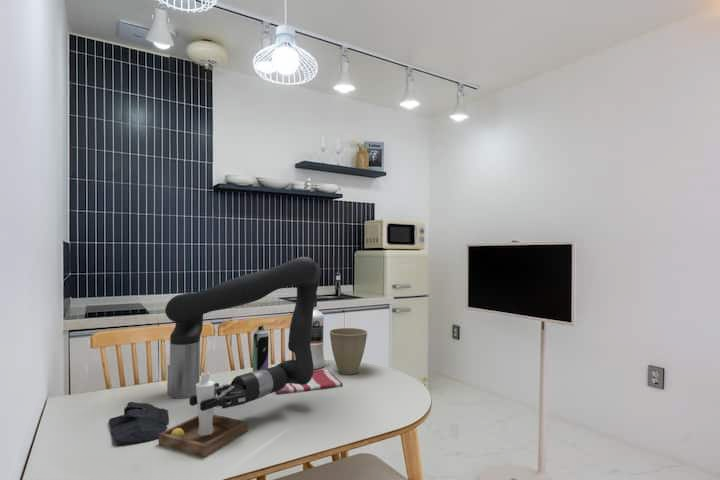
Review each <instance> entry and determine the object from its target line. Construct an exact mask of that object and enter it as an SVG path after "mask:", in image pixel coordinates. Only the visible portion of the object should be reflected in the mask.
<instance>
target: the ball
mask: <svg viewBox="0 0 720 480" xmlns="http://www.w3.org/2000/svg"><path fill="white" fill-rule="evenodd" d="M171 435H174V436H177V437H181V438H184V431H183V429H181V428H176V429H174V430H173V431H172V432H171Z"/></svg>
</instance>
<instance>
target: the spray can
mask: <svg viewBox="0 0 720 480" xmlns="http://www.w3.org/2000/svg"><path fill="white" fill-rule="evenodd" d="M269 335H270V334H269V331H267V330H266V329H265V328H264V325H260V326H258V328H257V329H256V330H255V331H254V332H253V336H252V337H253V338H252V342H253V343H252V372H254V371H258V370H264V369H267V368H269V343H270V342H269Z"/></svg>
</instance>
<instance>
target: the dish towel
mask: <svg viewBox="0 0 720 480" xmlns="http://www.w3.org/2000/svg"><path fill="white" fill-rule="evenodd" d="M340 387H343V382H342V381H341V380H339V379H338V378H337V377H336V376H335V375H334V374H333V373H332V372H331V371H330V370H329V369H314V371H313V376H312V378H311V380H310V381H309V382H308V383H307V384H305V385H300V384H293V383H288V384H286V385H285V387H284V388H283V389H281V390H279V391H276V392H274V393H275V394H276V395H283V394H293V393H295V394H296V393H302V392H309V391H315V390H326V389H334V388H340Z"/></svg>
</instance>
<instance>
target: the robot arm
mask: <svg viewBox="0 0 720 480" xmlns="http://www.w3.org/2000/svg"><path fill="white" fill-rule="evenodd" d="M320 267H321V266H320V265H319V264H318V263H317V262H316V261H315V260H314V259H313V258H311V257H307V256H299V257H297V258H296V257H295V258H294V259H291V260H289V261H286V262H284V263H282V264H280V265H277V266H274V267H271V268H268V269H262V270H258V271H256V272H252V273H247V274H244V275H240V276H238V277H234V278H231V279H227V280H226V281H223V282H221V283H218V284H216V285H214V286H212V287H209V288H207V289H204V290H201V291H195V292H186V293H185V292H184V293H181V294H177V295H175V296H173V297H172V298H171V299H169V301H168V302H167V304H165V305H166V306H165V309H164V310H165V316H166V317H167V318H168V319H169V320H170V321H171V322H174V323H175V326H174V329H173V330H172V332H171V333H170V337H169V364H167V384H166V385H167V386H166V389H167V392H166V394H167V395H169V397H171V398H173V399H183V398H189V405H190V406H192V407H193V406H196V405H197V394H196V384H197V383H199V382H200V378H201V376H200V375H201V372H200V371H201V370H200V367H201V366H200V364H201V361H200V359H201V334H202V332H203V326H204V325H203V323H204V322H203V321H204V315H205V314H209V313H212V312H216V311H221V310H225V309H227V310H228V309H230V308H231V309H232V308H235V307H239V306H244V305H247V304H250V303H251V304H252V303H253V302H257V301H259V300H261V299H263V298H265V297H267V296H268V295H270V294H272V293H273V292H275V291H277V290H280V289H284V288H287V287H292V286H296V301H295V306H294V310H293V313H292V316H291V320H290V325H289V332H288V333H289V334H288V341H287V342H288V343H287V346H288V347H287V348H288V350H289V351H290V352H292V353H294V356H295V359H288V360H285V361H282V362H280V363H278V364H277V365H275V366H272V367H268V368H267V369H264V370H258V371H254V372H253V371H251V372H248V373H243V374H240V375H236V376H235V377H234V378H233V379H232V381H231V382H230V383H226V384H223V385H220V383H218V382H215V386H214V398H211V399H208V400H204V401H201V403H200V410H202V411H205V410H208V409H210V408H213V409H214V408H221V409H228V408H233V407H236V406H241V405H245V404H247V403H249V402H253V401H256V400H258V399H261V398H263V397H266V396H268V395H270V394H273V393H275V392H276V391H279V390H281V389H283V388H284V387H285V385H286V384H288V383H293V384H300V385H305V384H307V383H308V382H309V381H310V380H311V378H312V376H313V371H315V369H314V367H313V360H312V353H311V348H310V344H311V333H312V320H313V310H314V303H315V297H316V294H317V292H318V288H319V283H320V279H321V276H322V271H321V268H320Z"/></svg>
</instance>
